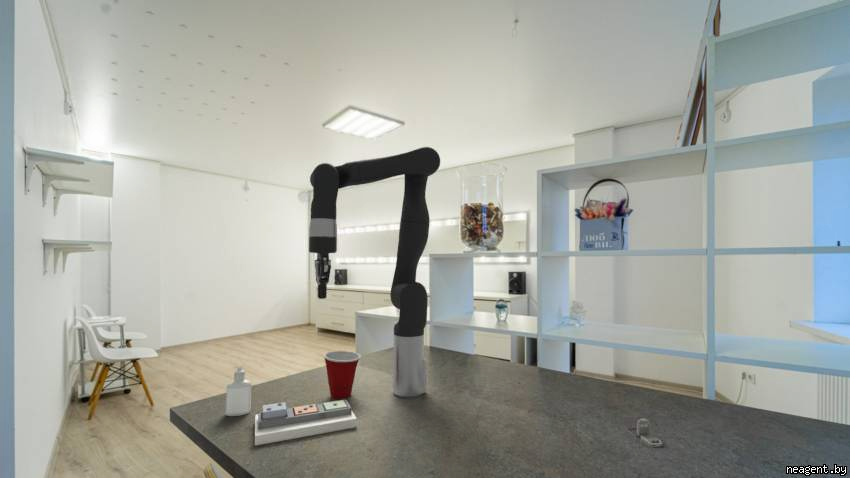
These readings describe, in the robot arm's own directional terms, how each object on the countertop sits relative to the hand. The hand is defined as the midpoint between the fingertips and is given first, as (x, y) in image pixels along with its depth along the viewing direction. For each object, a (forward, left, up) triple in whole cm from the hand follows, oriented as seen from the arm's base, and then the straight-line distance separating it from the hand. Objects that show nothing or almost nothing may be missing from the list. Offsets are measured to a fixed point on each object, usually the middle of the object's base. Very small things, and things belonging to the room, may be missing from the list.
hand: (321, 298), depth 103 cm
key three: (+5, +11, -27) cm, 29 cm away
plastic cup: (-7, -5, -29) cm, 30 cm away
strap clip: (-64, +48, -30) cm, 85 cm away
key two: (+12, +11, -25) cm, 30 cm away
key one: (-2, +11, -27) cm, 29 cm away
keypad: (+5, +11, -29) cm, 31 cm away
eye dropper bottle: (+20, -3, -29) cm, 36 cm away
